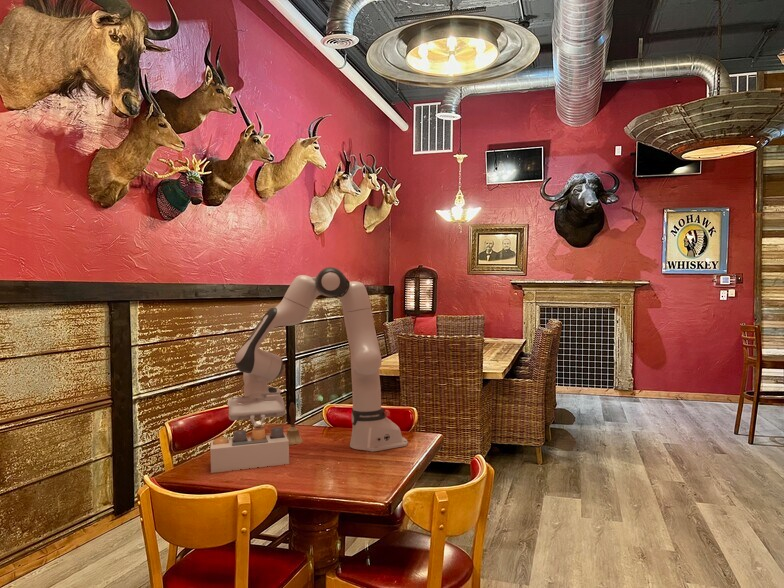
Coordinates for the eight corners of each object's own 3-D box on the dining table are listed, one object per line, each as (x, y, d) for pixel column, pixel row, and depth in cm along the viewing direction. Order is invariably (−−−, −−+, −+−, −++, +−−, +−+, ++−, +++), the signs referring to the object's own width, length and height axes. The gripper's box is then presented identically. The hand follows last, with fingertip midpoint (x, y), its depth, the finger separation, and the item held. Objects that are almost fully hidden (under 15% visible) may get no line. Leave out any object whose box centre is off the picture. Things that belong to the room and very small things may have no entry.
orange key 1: (227, 455, 193) (227, 437, 193) (227, 458, 189) (227, 440, 189) (214, 456, 192) (214, 438, 192) (214, 460, 188) (213, 441, 188)
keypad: (285, 454, 201) (285, 431, 201) (289, 464, 189) (288, 439, 189) (212, 462, 193) (211, 439, 193) (211, 473, 182) (210, 448, 182)
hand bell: (307, 441, 219) (306, 401, 219) (293, 446, 212) (292, 405, 212) (292, 438, 223) (291, 399, 223) (278, 443, 216) (277, 403, 216)
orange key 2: (264, 445, 197) (264, 427, 197) (265, 449, 193) (265, 430, 193) (252, 447, 196) (251, 429, 196) (253, 450, 191) (252, 432, 191)
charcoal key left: (283, 443, 199) (282, 426, 199) (284, 447, 195) (283, 429, 195) (270, 445, 198) (270, 427, 198) (271, 448, 193) (271, 430, 193)
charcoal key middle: (246, 447, 195) (245, 429, 195) (246, 451, 191) (246, 432, 191) (233, 449, 194) (233, 430, 194) (233, 452, 190) (233, 433, 190)
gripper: (227, 392, 198) (227, 425, 189) (283, 388, 204) (287, 419, 195) (227, 402, 203) (228, 434, 193) (282, 398, 209) (286, 429, 199)
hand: (258, 427), depth 194 cm, fingers closed
